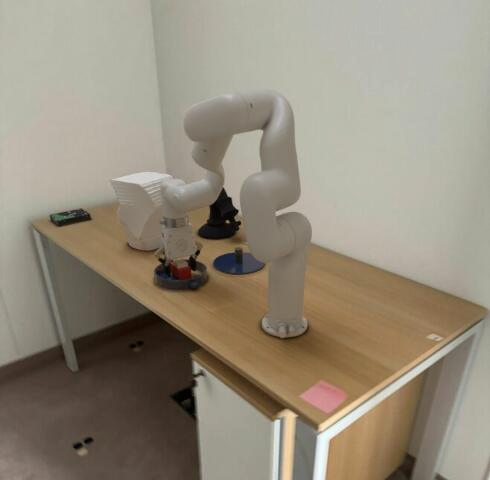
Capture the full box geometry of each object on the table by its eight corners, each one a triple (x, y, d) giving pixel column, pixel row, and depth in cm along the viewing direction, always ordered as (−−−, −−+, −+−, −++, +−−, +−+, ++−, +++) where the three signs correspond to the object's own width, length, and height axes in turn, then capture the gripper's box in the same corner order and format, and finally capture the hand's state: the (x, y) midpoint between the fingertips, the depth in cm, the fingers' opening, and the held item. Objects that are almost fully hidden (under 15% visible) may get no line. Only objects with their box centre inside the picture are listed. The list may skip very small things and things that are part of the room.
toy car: (191, 280, 152) (190, 263, 149) (179, 283, 150) (178, 266, 147) (182, 272, 158) (181, 255, 154) (170, 275, 156) (169, 258, 153)
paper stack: (113, 245, 180) (102, 177, 166) (167, 227, 197) (161, 164, 183) (146, 260, 168) (137, 188, 154) (201, 239, 185) (197, 173, 171)
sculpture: (222, 224, 200) (220, 164, 187) (254, 240, 184) (254, 175, 170) (191, 231, 193) (187, 169, 180) (221, 249, 176) (219, 182, 163)
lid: (228, 280, 153) (228, 263, 150) (204, 261, 166) (203, 245, 163) (274, 268, 161) (274, 252, 157) (248, 251, 174) (247, 235, 171)
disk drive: (82, 214, 214) (50, 220, 206) (81, 208, 212) (48, 214, 204) (91, 219, 207) (58, 226, 199) (90, 213, 205) (57, 220, 197)
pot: (170, 299, 142) (169, 289, 140) (144, 272, 159) (143, 263, 157) (220, 286, 149) (219, 276, 148) (190, 261, 166) (190, 252, 164)
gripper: (153, 229, 137) (159, 283, 146) (206, 219, 145) (209, 271, 154) (145, 222, 143) (151, 274, 152) (196, 213, 150) (199, 263, 159)
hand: (180, 272), depth 153 cm, fingers open, 8 cm apart
